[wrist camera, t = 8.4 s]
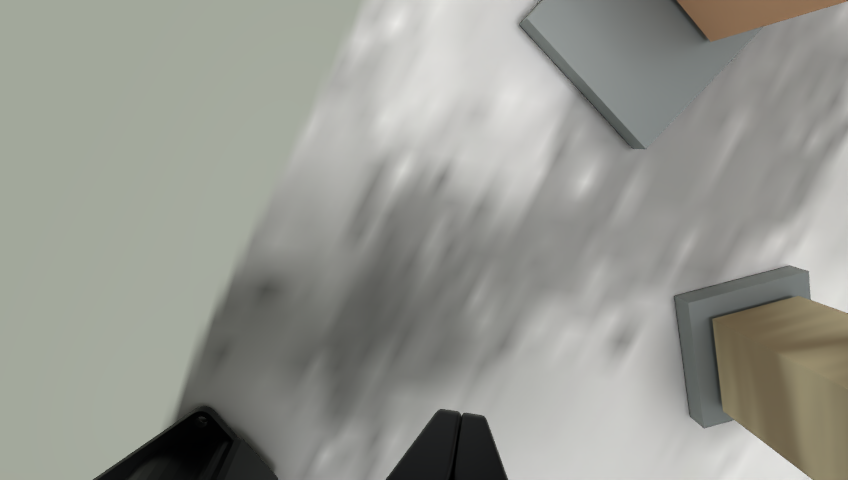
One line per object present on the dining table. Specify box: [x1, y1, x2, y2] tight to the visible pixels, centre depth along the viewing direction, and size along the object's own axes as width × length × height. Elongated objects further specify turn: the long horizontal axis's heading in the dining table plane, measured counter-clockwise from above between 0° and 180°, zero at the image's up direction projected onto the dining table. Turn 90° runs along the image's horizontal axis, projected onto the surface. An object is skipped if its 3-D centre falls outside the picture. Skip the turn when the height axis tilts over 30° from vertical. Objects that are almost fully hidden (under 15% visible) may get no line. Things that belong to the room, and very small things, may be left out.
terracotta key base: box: [519, 0, 764, 149], centre depth 19 cm, size 9×7×1 cm
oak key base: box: [675, 266, 811, 428], centre depth 23 cm, size 6×6×1 cm
